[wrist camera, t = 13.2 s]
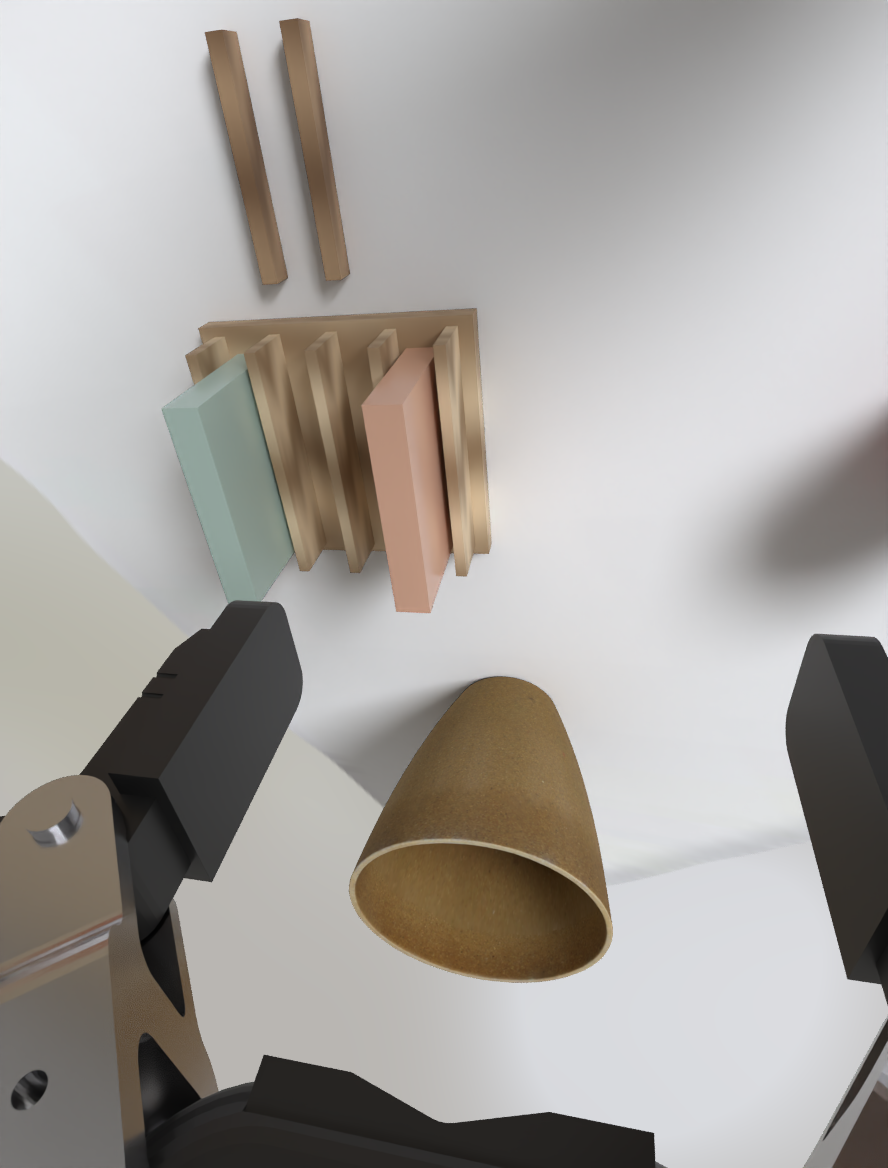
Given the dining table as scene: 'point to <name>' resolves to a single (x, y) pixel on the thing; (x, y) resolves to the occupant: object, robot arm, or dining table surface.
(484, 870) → the plant pot
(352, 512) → the rack
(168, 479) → the dining table surface
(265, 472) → the green plate
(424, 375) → the pink rectangular slab
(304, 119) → the stand rails
